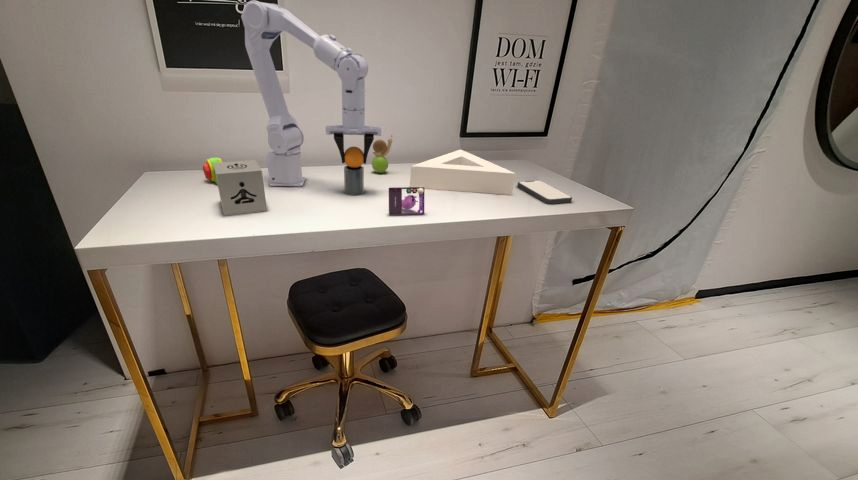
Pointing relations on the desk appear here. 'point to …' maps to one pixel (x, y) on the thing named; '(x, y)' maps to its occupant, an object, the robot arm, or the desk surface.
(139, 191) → the desk surface
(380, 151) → the snail figurine
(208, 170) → the red green curved piece
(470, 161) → the triangle block
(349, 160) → the ball
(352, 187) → the cup
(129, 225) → the desk surface
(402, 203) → the purple product box
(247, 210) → the icon cube
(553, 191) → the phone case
